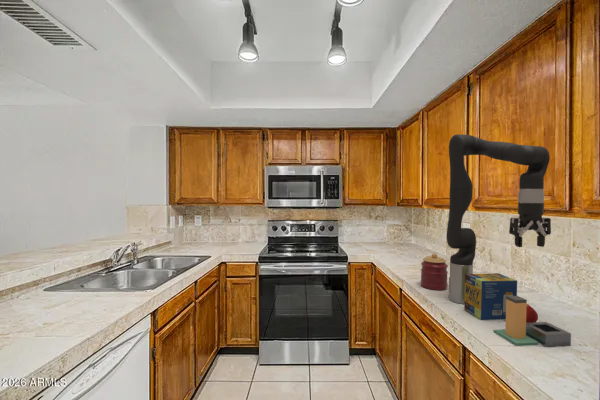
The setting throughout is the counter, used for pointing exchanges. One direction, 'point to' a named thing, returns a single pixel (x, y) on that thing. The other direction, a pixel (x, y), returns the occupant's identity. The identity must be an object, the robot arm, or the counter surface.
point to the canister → (434, 273)
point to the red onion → (531, 314)
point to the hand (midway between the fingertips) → (529, 246)
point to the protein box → (488, 295)
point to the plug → (516, 317)
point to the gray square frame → (548, 334)
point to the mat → (516, 341)
